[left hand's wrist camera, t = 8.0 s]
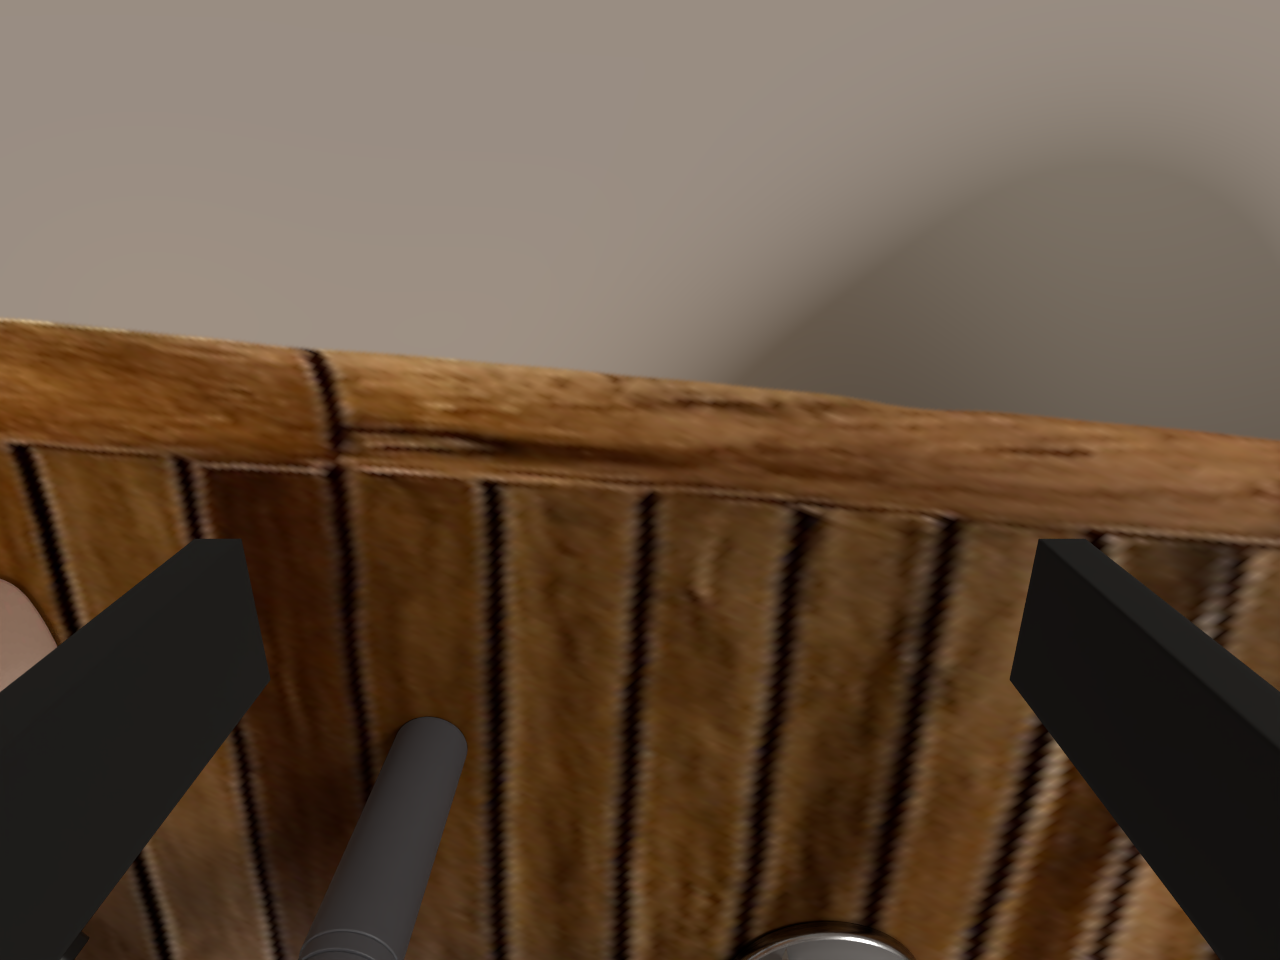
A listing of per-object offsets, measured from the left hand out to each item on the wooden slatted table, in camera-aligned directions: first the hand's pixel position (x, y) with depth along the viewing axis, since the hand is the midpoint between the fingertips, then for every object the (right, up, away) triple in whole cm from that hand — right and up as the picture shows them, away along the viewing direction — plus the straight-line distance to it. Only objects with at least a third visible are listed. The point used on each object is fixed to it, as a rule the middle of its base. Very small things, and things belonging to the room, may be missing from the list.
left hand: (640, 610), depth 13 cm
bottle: (-13, -15, +36) cm, 41 cm away
